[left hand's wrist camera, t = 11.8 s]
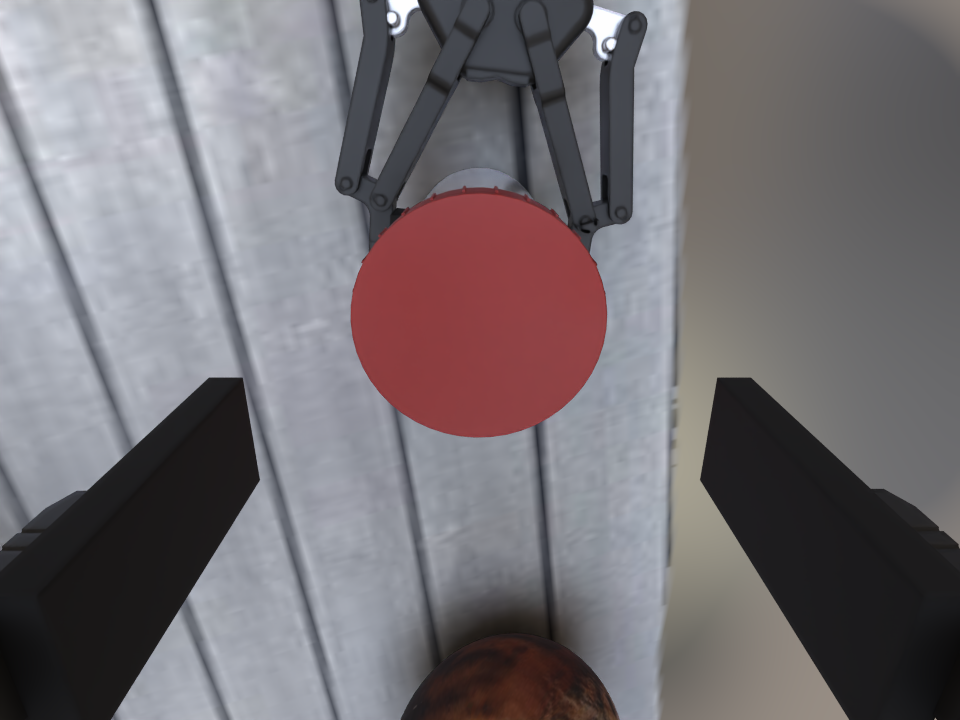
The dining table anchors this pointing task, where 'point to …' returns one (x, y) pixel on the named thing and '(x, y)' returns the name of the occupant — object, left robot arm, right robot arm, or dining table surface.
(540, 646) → the plush toy
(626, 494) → the dining table surface
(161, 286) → the dining table surface
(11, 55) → the dining table surface
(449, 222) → the lid
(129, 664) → the left robot arm
